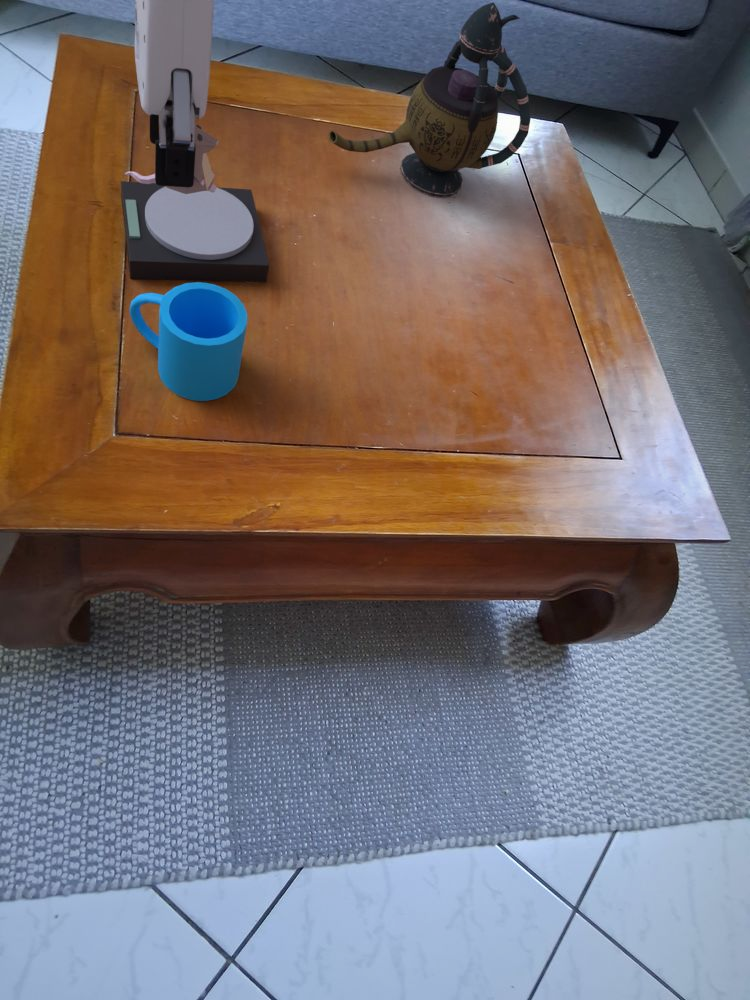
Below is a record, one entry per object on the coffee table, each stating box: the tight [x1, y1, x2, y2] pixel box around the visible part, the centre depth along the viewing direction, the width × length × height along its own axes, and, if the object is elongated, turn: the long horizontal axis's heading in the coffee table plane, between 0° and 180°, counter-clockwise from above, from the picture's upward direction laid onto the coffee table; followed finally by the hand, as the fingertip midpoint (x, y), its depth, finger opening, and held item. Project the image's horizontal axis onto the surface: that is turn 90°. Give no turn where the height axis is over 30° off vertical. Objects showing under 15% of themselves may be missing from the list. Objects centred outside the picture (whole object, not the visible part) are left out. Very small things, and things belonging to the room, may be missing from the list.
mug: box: [128, 281, 248, 402], centre depth 75 cm, size 12×8×8 cm
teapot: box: [328, 1, 531, 199], centre depth 96 cm, size 12×25×23 cm, turn 107°
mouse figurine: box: [124, 124, 219, 194], centre depth 66 cm, size 5×8×7 cm, turn 102°
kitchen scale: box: [120, 180, 270, 283], centre depth 87 cm, size 15×13×3 cm
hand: (171, 161), depth 68 cm, fingers closed on mouse figurine, 4 cm apart
